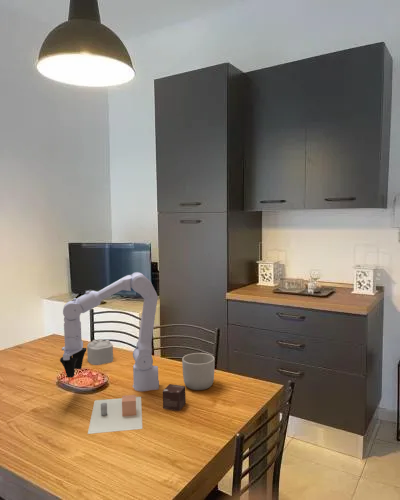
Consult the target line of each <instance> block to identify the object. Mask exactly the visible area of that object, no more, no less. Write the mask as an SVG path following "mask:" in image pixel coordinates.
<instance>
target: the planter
mask: <svg viewBox="0 0 400 500" xmlns="http://www.w3.org/2000/svg"><path fill="white" fill-rule="evenodd" d="M181 360H182V361H181V362H182V363H181V365H182V378H183V383H184V386H185V387H186V388H188V389H190V390H193V391H204V390H207V389H210V388H211V386H212V385H213V383H214V379H215V361H216V360H215V356H214V355H212V354H210V353H206V352H193V353H188V354H186V355H184V356H183V357H182V359H181Z"/></svg>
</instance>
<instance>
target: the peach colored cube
mask: <svg viewBox="0 0 400 500" xmlns="http://www.w3.org/2000/svg"><path fill="white" fill-rule="evenodd" d="M136 397H137V394H129V395H127V394H126V395H122V397H121V398H122V416H132V415H136Z"/></svg>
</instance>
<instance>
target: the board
mask: <svg viewBox="0 0 400 500" xmlns="http://www.w3.org/2000/svg"><path fill="white" fill-rule="evenodd" d="M142 410H143V409H142V396H136V415H132V416H122V397H121V398H120V397H119V398H110V399H108V398H107V399H96V400H94V403H93V408H92V411H91V416H90V420H89V426H88V431H87V435H91V434H102V433H112V432H124V431H133V430H142V429H143V413H142V412H143V411H142Z"/></svg>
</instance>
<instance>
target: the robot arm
mask: <svg viewBox="0 0 400 500" xmlns="http://www.w3.org/2000/svg"><path fill="white" fill-rule="evenodd" d="M132 290H133V291H134V292H136V293H137V294H138V295H140V296H141V297H142V298H143V303H142V311H141V312H142V313H141V319H140V325H139V326H140V327H139V334H138V339H137V342H136V345H135V346H136V347H135V349H134V350H133V351H132V358H133V360H134V364H133V366H132V371H133V372H132V374H133V375H132V376H133V378H132V379H133V384H132V388H133V390H134V391H136V392H148V391H155V390H156V391H157V390H160V388H159V387H160V380H159V366H158V365H153V363H154V359H153V355H152V353H153V349H152V342H153V341H152V339H153V333H154V327H155V320H156V313H157V306H158V305H157V304H158V294H157V291H156V290H155V287H154V286H153V284H152V281H151V280H150V279H149V278H148V277H146V276H145V274H143V273H142V272H139V271H136V272H135V271H134V272H133V273H132V274H127V275H125V276H123V277H121V278H120V279H118V280H116V281H114V282H112V283H111V284H109V285H107V286H104V288H102V289H100V290H98V291H96V290H91V291H90V290H86V291H85V293H84V294H83V295H81V296H78V297H77V298H76V297H74V298H73V299H72V300H69V301H67V302H66V303H65V304H64V306H63V308H62V314H63V316H64V317H63V322H64V323H63V335H64V337H63V338H64V346H63V347H62V348H61V351H63V354H62V357H60V358H59V362H60V363H61V365H62V367H63V368H64V370H65V371H64V372H65V375H66V378H74V377H75V374H76V372H75V371H76V370H81V369H82V367H83V363H84V357H85V354H86V353H87V348H86V347H84V341H83V340H82V322H81V315H82V314H85V313H87V312H89V311H91V310H92V309H94V308H96V307H99V306H100V305H101V302H102V300H105V299H106V298H109V297H110V296H112V295H114V294H116V293H117V294H118V293H120V292H121V291H127V292H131V291H132Z"/></svg>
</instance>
